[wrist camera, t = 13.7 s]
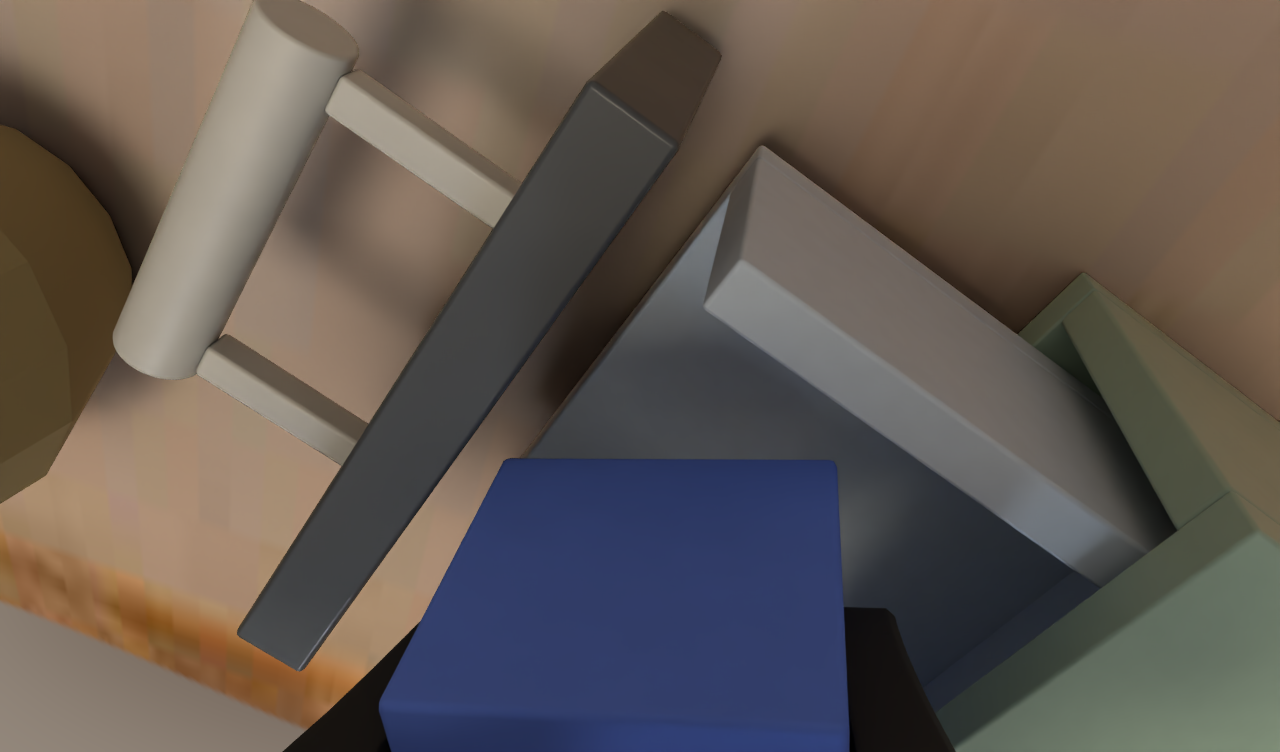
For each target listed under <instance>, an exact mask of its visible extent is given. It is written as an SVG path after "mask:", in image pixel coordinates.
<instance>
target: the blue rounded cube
mask: <svg viewBox="0 0 1280 752" xmlns="http://www.w3.org/2000/svg"><path fill="white" fill-rule="evenodd" d="M379 712H380V716H381V719H382V722H383V726H384V729H385V732H386V736H387V739H388V742H389V746H390V749H391V752H849V709H848V688H847V666H846V645H845V624H844V603H843V581H842V560H841V539H840V517H839V496H838V475H837V466H836V464H835V462H834V461H831V460H765V459H540V458H510V459H506V460H505V461H503V463H502V465H501V467H500V469H499V471H498V473H497V475H496V477H495V479H494V481H493V483H492V484H491V486H490V488H489V490H488V492H487V494H486V496H485V498H484V500H483V502H482V504H481V506H480V508H479V510H478V512H477V513H476V515H475V517H474V519H473V521H472V523H471V525H470V527H469V529H468V531H467V533H466V535H465V537H464V539H463V540H462V542H461V544H460V546H459V548H458V550H457V552H456V554H455V556H454V558H453V560H452V562H451V564H450V566H449V567H448V569H447V571H446V573H445V575H444V577H443V579H442V581H441V583H440V585H439V587H438V589H437V591H436V593H435V594H434V596H433V598H432V600H431V602H430V604H429V606H428V608H427V610H426V612H425V614H424V616H423V618H422V620H421V622H420V623H419V625H418V627H417V629H416V631H415V633H414V635H413V637H412V639H411V641H410V643H409V645H408V647H407V649H406V650H405V652H404V654H403V656H402V658H401V660H400V662H399V664H398V666H397V668H396V670H395V672H394V674H393V676H392V677H391V679H390V681H389V683H388V685H387V687H386V689H385V691H384V693H383V695H382V697H381V699H380V702H379Z"/></svg>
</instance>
